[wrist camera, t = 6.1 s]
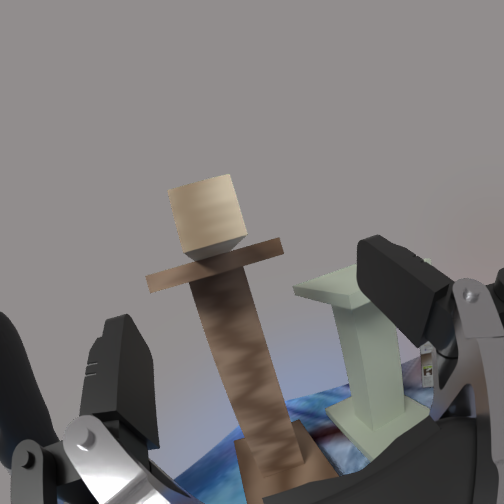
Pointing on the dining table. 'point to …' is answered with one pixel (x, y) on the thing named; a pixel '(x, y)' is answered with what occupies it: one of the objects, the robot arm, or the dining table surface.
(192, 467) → the dining table surface
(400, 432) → the low stand
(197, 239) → the wooden block
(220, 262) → the tall stand
